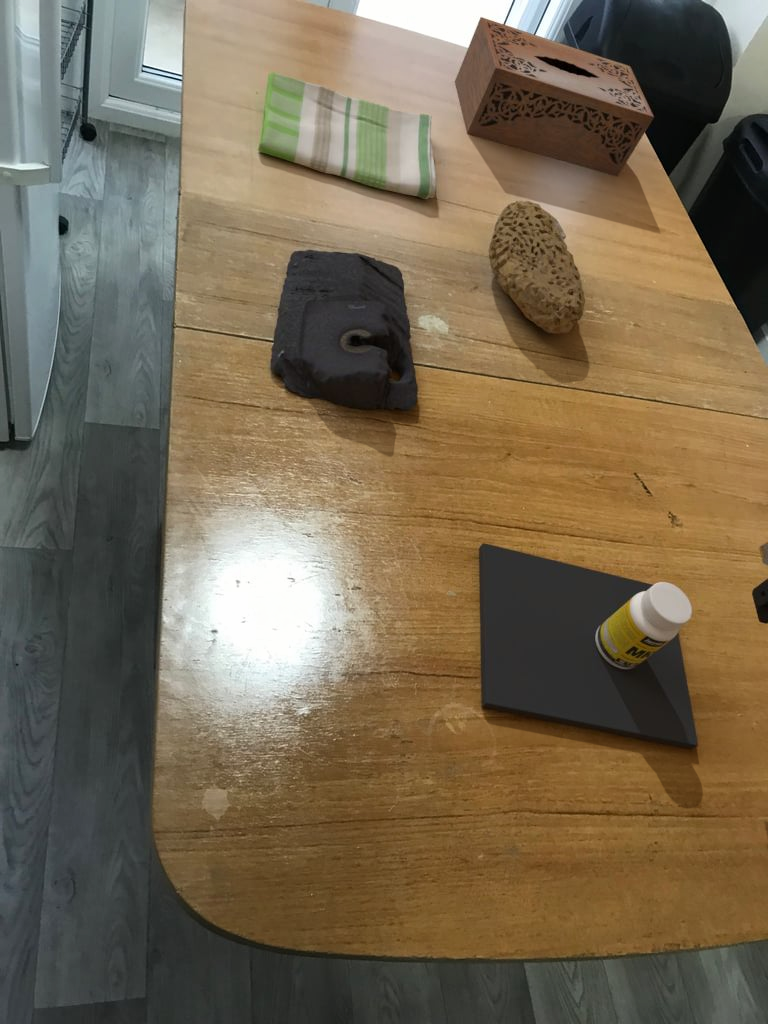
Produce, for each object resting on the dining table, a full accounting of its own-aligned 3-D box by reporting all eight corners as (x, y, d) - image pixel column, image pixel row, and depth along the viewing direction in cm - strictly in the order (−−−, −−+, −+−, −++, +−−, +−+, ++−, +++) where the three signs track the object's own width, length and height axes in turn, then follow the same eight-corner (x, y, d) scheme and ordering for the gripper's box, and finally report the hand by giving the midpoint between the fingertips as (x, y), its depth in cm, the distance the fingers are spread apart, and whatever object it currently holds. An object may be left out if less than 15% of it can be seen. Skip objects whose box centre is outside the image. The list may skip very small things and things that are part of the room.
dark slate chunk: (413, 286, 98) (428, 253, 95) (413, 425, 85) (430, 393, 81) (285, 249, 94) (295, 214, 91) (265, 388, 81) (276, 354, 78)
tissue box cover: (467, 133, 123) (495, 67, 116) (454, 81, 131) (480, 16, 124) (617, 176, 131) (654, 117, 123) (597, 124, 139) (630, 66, 132)
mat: (664, 593, 83) (670, 588, 82) (691, 749, 73) (698, 745, 73) (478, 548, 79) (482, 542, 78) (481, 708, 69) (486, 703, 68)
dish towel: (432, 207, 109) (442, 183, 106) (256, 157, 103) (262, 130, 100) (425, 134, 119) (434, 111, 116) (265, 85, 113) (270, 59, 110)
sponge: (479, 232, 111) (471, 294, 96) (516, 182, 107) (513, 238, 91) (558, 287, 115) (562, 355, 99) (596, 240, 110) (607, 304, 94)
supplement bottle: (608, 674, 74) (662, 631, 67) (585, 627, 76) (636, 580, 70) (649, 665, 76) (706, 623, 69) (626, 619, 78) (679, 574, 72)
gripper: (1015, 462, 59) (825, 590, 73) (842, 405, 56) (677, 551, 70) (1061, 549, 55) (850, 668, 69) (877, 492, 51) (693, 630, 65)
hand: (763, 608), depth 69 cm, fingers closed
